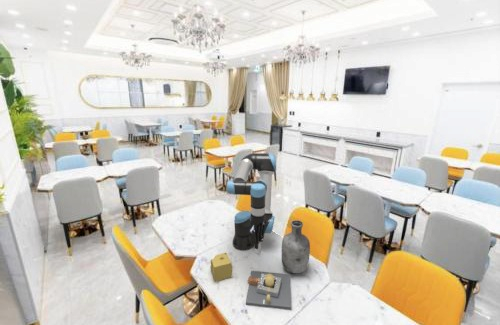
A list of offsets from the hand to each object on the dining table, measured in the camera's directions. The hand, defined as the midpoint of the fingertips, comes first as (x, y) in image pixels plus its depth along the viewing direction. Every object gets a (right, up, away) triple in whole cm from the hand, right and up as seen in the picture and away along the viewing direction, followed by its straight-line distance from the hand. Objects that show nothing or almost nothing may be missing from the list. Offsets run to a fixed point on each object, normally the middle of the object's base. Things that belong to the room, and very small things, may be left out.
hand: (257, 252), depth 127 cm
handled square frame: (+3, -16, -4) cm, 17 cm away
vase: (+22, -14, +11) cm, 29 cm away
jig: (+6, -18, -4) cm, 19 cm away
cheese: (-21, -15, +7) cm, 27 cm away
